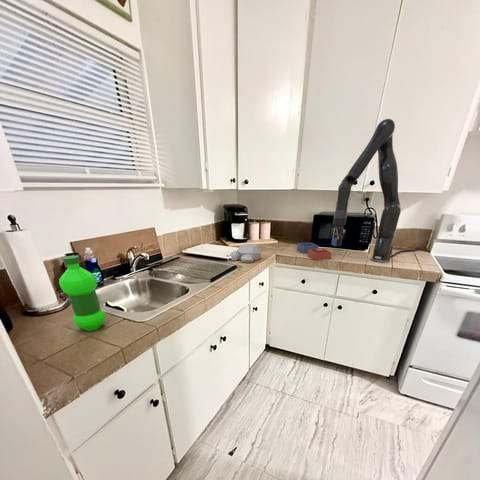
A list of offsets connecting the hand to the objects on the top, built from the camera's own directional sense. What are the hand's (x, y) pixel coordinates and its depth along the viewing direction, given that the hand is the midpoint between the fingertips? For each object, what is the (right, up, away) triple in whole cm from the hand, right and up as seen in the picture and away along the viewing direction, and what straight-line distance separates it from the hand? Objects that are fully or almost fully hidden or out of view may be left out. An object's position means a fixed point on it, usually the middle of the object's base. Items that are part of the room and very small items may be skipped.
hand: (336, 244), depth 171 cm
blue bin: (-15, 0, +18) cm, 23 cm away
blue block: (0, 0, 0) cm, 0 cm away
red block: (-11, -7, +2) cm, 13 cm away
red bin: (-11, -8, +2) cm, 14 cm away
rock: (-60, -10, -1) cm, 61 cm away
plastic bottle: (-116, -53, -79) cm, 150 cm away
